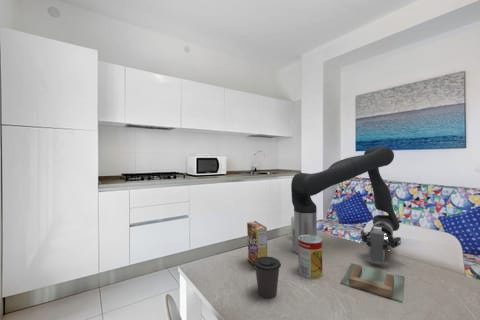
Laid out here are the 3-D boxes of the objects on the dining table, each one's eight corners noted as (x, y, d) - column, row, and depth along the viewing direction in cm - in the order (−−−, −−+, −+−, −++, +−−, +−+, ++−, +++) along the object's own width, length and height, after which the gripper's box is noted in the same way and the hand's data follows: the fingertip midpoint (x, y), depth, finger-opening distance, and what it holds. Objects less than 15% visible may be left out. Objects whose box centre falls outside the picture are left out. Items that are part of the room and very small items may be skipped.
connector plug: (370, 259, 83) (370, 228, 83) (372, 255, 86) (371, 225, 86) (383, 262, 80) (383, 230, 80) (384, 258, 84) (384, 227, 83)
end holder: (340, 283, 72) (340, 275, 72) (351, 264, 85) (351, 257, 85) (402, 302, 62) (402, 293, 62) (404, 277, 75) (404, 270, 75)
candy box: (247, 261, 88) (246, 222, 88) (256, 259, 90) (256, 220, 90) (257, 271, 80) (257, 228, 80) (268, 269, 82) (267, 226, 81)
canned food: (326, 272, 79) (325, 238, 79) (316, 281, 73) (316, 244, 73) (305, 265, 84) (304, 233, 84) (294, 273, 79) (294, 238, 78)
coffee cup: (274, 305, 62) (274, 268, 62) (248, 296, 66) (248, 261, 66) (285, 290, 69) (285, 257, 68) (261, 282, 73) (260, 251, 73)
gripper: (362, 220, 99) (354, 231, 85) (402, 226, 90) (401, 239, 76) (362, 237, 99) (354, 251, 85) (402, 245, 90) (401, 261, 77)
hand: (376, 245), depth 81 cm, fingers closed on connector plug, 4 cm apart
